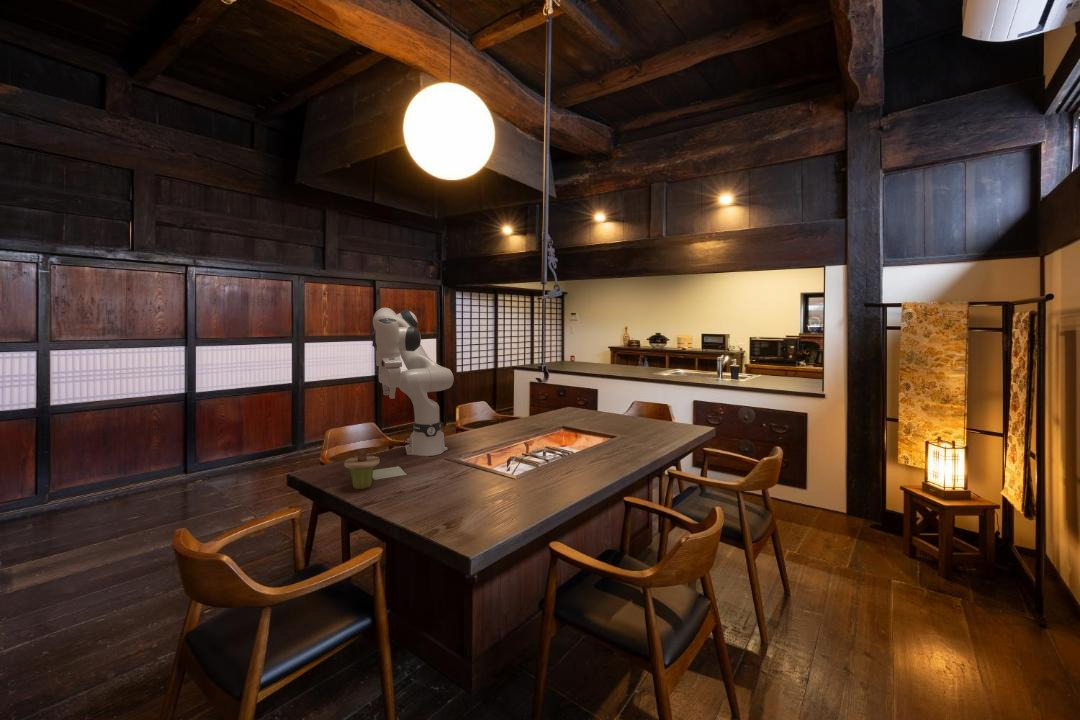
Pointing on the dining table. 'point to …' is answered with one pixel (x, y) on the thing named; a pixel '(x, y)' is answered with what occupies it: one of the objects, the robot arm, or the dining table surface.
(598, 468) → the dining table surface
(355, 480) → the plant pot
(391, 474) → the mat
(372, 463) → the lid
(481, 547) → the dining table surface
